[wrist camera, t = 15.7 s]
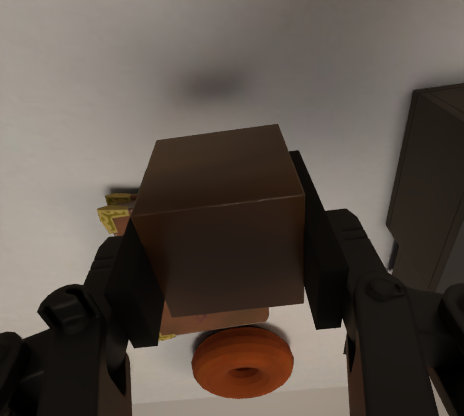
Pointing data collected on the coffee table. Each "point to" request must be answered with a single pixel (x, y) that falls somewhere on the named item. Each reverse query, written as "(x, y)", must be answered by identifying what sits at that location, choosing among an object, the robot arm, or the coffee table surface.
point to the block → (223, 221)
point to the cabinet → (432, 188)
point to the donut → (242, 362)
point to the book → (116, 223)
